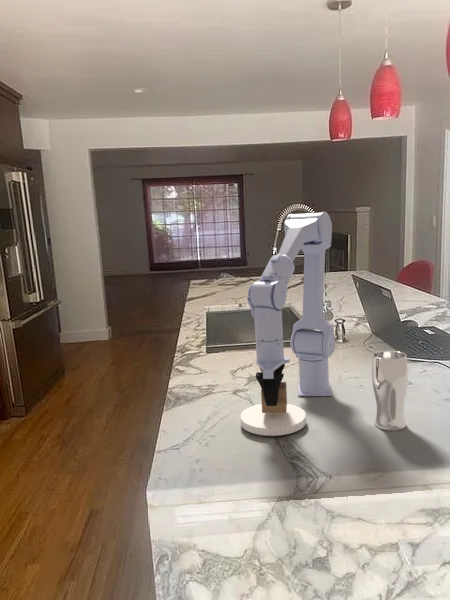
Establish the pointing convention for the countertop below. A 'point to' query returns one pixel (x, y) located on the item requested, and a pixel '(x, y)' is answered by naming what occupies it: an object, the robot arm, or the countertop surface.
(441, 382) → the countertop surface
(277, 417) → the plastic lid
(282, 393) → the walnut cube
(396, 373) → the beer glass
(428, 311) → the countertop surface
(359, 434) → the countertop surface
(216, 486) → the countertop surface
